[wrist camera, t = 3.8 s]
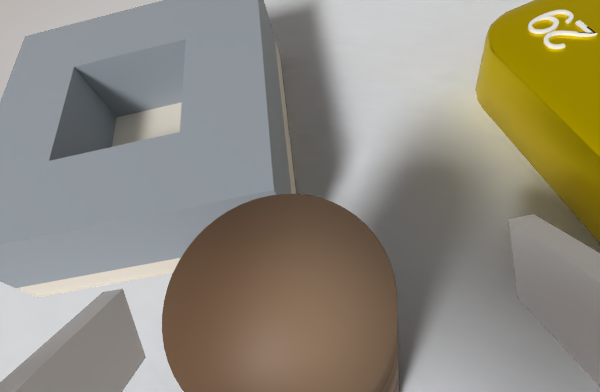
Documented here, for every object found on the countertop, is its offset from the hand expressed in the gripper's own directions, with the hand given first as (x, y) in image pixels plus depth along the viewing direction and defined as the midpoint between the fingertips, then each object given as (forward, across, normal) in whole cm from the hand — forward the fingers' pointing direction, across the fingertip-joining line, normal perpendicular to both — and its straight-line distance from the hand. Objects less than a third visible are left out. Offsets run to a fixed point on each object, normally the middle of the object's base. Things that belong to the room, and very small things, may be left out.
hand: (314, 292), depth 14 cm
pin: (+2, 0, -5) cm, 5 cm away
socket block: (+11, -8, +4) cm, 14 cm away
